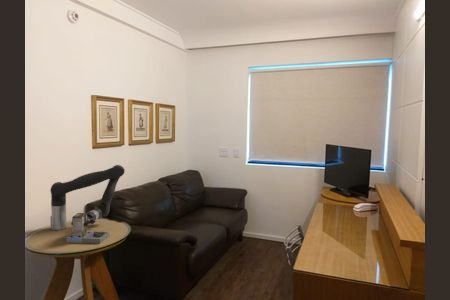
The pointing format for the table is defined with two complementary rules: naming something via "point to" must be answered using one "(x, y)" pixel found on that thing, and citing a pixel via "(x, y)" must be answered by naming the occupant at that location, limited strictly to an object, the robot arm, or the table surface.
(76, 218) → the coffee box
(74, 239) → the divided tray
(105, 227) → the table surface
